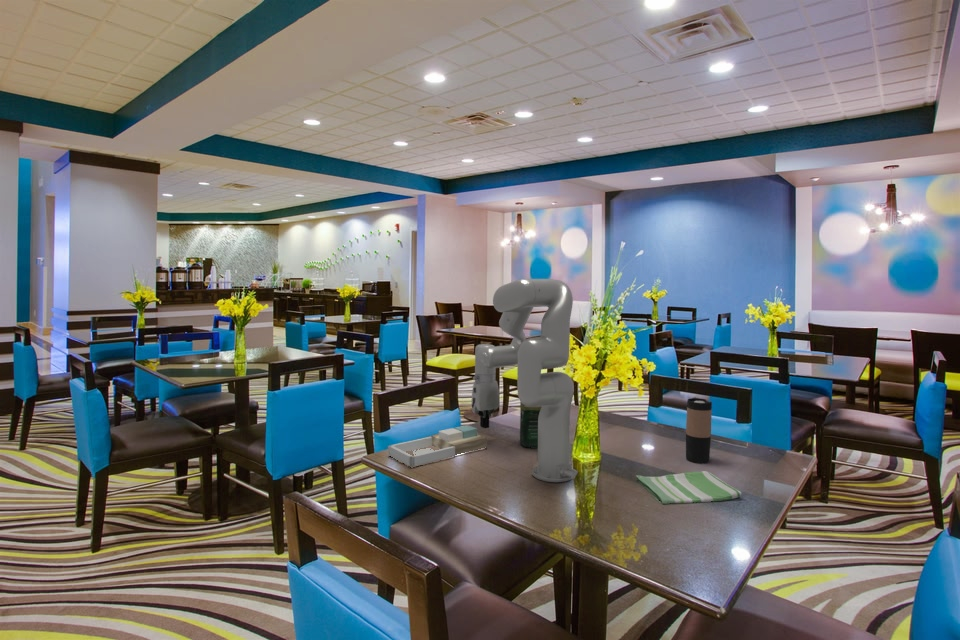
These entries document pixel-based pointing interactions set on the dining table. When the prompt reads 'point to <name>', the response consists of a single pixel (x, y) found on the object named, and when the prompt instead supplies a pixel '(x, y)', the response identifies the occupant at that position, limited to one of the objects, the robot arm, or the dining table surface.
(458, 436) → the white tile
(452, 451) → the tray
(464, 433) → the teal tile
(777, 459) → the dining table surface
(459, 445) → the birch board
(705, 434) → the travel mug
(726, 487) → the dish towel
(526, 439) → the coffee jar
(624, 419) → the dining table surface
